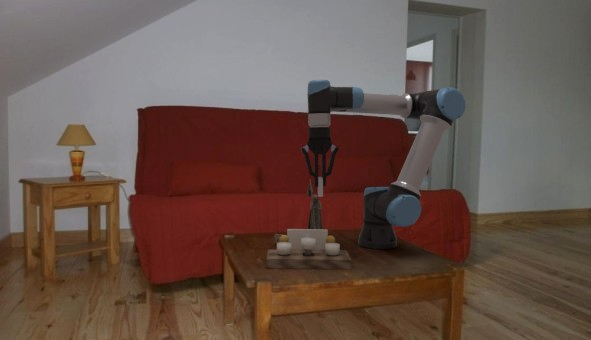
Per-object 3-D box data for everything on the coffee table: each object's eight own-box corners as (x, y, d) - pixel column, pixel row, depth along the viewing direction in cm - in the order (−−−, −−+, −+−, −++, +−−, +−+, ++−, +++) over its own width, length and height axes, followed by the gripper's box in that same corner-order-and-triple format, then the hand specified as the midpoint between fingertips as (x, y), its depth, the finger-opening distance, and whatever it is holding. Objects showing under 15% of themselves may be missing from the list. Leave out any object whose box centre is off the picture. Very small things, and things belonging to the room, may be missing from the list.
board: (345, 258, 148) (346, 250, 148) (351, 269, 136) (351, 259, 136) (268, 258, 147) (268, 249, 147) (266, 268, 135) (266, 258, 135)
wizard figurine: (302, 241, 173) (304, 179, 172) (298, 236, 182) (299, 178, 180) (327, 240, 175) (328, 179, 174) (322, 235, 184) (323, 178, 182)
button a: (338, 259, 144) (338, 242, 144) (340, 264, 139) (340, 246, 139) (324, 259, 144) (324, 242, 144) (325, 263, 139) (325, 246, 139)
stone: (284, 250, 158) (285, 237, 158) (272, 244, 168) (272, 231, 168) (306, 248, 162) (306, 235, 162) (292, 242, 172) (293, 230, 172)
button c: (291, 259, 144) (291, 242, 143) (291, 263, 139) (291, 245, 139) (276, 259, 144) (277, 242, 143) (276, 263, 139) (276, 245, 138)
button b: (314, 254, 144) (315, 237, 143) (315, 258, 139) (316, 240, 139) (300, 254, 144) (300, 237, 143) (301, 258, 139) (301, 240, 138)
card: (334, 258, 149) (335, 229, 148) (334, 258, 147) (335, 230, 147) (279, 257, 148) (279, 228, 147) (279, 258, 147) (279, 229, 146)
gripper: (336, 126, 148) (337, 194, 150) (299, 127, 147) (300, 195, 149) (340, 126, 140) (341, 197, 142) (300, 126, 140) (302, 198, 142)
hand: (320, 196), depth 146 cm, fingers closed
